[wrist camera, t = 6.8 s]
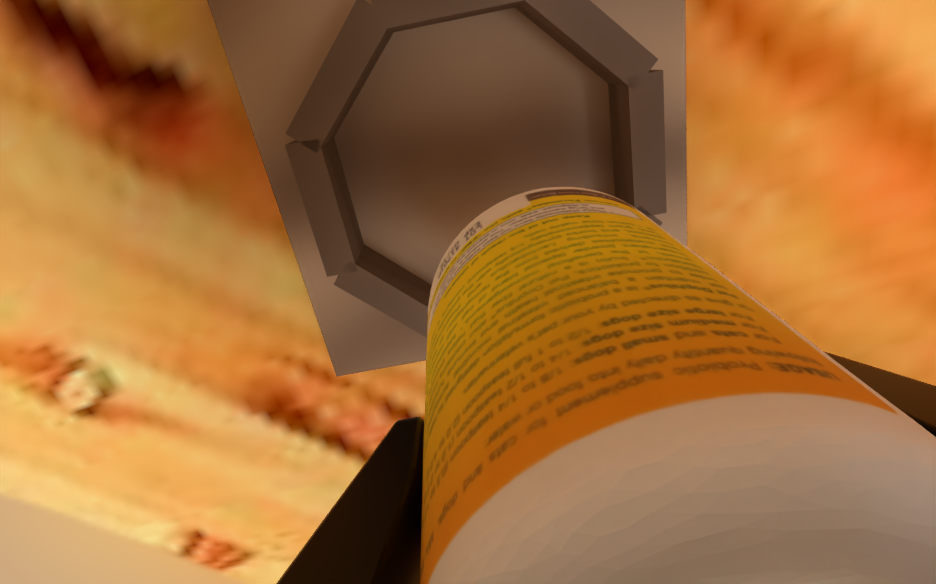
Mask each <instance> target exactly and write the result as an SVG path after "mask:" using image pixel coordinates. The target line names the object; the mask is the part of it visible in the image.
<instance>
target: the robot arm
mask: <svg viewBox="0 0 936 584" xmlns="http://www.w3.org/2000/svg"><path fill="white" fill-rule="evenodd" d="M823 352H824V351H823ZM825 353H826V354H827V355H829V356H830V357H831V358H832V359H834V360H835V361H836V362H838V363H839V364H840V365H842V366H843V367H844V368H846V369H847V370H848V371H849V372H851V373H852V374H853V375H855V376H856V377H857V378H859V379H860V380H861V381H863V382H864V383H865V384H866V385H868V386H869V387H870V388H872V389H873V390H874V391H876V392H877V393H878V394H880V395H881V396H882V397H884V398H885V399H886V400H888V401H889V402H890V403H892V404H893V405H894V406H896V407H897V408H898V409H900V410H901V411H902V412H904V413H905V414H906V415H908V416H909V417H910V418H912V419H913V420H914V421H916V422H917V423H918V424H920V425H921V426H922V427H923V428H925V429H926V430H927V431H929V432H930V433H931V434H932V435H934V436H935V437H936V386H934V385H931V384H927V383H924V382H921V381H918V380H914V379H911V378H908V377H905V376H901V375H898V374H895V373H892V372H888V371H885V370H882V369H879V368H875V367H872V366H869V365H866V364H863V363H859V362H856V361H853V360H850V359H846V358H843V357H840V356H837V355H833V354H830V353H827V352H825ZM423 446H424V421H423V419H422V418H420V417H414V418H409V419H403V420H399V421H397V422H396V423H395V424H394V425H393V426H392V428H391V429H390V431H389V432H388V433H387V435H386V436H385V437H384V439H383V440H382V441H381V443H380V444H379V445H378V447H377V448H376V450H375V451H374V452H373V454H372V455H371V456H370V458H369V459H368V460H367V462H366V463H365V464H364V466H363V467H362V468H361V470H360V471H359V473H358V474H357V475H356V477H355V478H354V479H353V481H352V482H351V483H350V485H349V486H348V487H347V489H346V490H345V492H344V493H343V494H342V496H341V497H340V498H339V500H338V501H337V502H336V504H335V505H334V506H333V508H332V509H331V510H330V512H329V513H328V515H327V516H326V517H325V519H324V520H323V521H322V523H321V524H320V525H319V527H318V528H317V529H316V531H315V532H314V534H313V535H312V536H311V538H310V539H309V540H308V542H307V543H306V544H305V546H304V547H303V548H302V550H301V551H300V552H299V554H298V555H297V557H296V558H295V559H294V561H293V562H292V563H291V565H290V566H289V567H288V569H287V570H286V571H285V573H284V574H283V576H282V577H281V578H280V580H279V581H278V582H277V584H420V562H421V523H422V483H423Z"/></svg>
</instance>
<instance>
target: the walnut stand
mask: <svg viewBox="0 0 936 584" xmlns="http://www.w3.org/2000/svg"><path fill="white" fill-rule="evenodd" d="M207 1H208V4H209V6H210V9H211V12H212V15H213V18H214V21H215V24H216V27H217V30H218V33H219V35H220V38H221V41H222V44H223V47H224V50H225V53H226V56H227V59H228V62H229V65H230V67H231V70H232V73H233V76H234V79H235V82H236V85H237V88H238V91H239V94H240V97H241V99H242V102H243V105H244V108H245V111H246V114H247V117H248V120H249V123H250V126H251V128H252V131H253V134H254V137H255V140H256V143H257V146H258V149H259V152H260V155H261V158H262V160H263V163H264V166H265V169H266V172H267V175H268V178H269V181H270V184H271V187H272V190H273V192H274V195H275V198H276V201H277V204H278V207H279V210H280V213H281V216H282V219H283V221H284V224H285V227H286V230H287V233H288V236H289V239H290V242H291V245H292V248H293V251H294V253H295V256H296V259H297V262H298V265H299V268H300V271H301V274H302V277H303V280H304V283H305V285H306V288H307V291H308V294H309V297H310V300H311V303H312V306H313V309H314V312H315V314H316V317H317V320H318V323H319V326H320V329H321V332H322V335H323V338H324V341H325V344H326V346H327V349H328V352H329V355H330V358H331V361H332V364H333V367H334V370H335V373H336V376H342V375H347V374H353V373H358V372H364V371H369V370H375V369H380V368H386V367H391V366H397V365H402V364H407V363H413V362H418V361H424V360H426V355H427V315H428V304H429V297H430V291H431V287H432V283H433V279H434V276H435V273H436V271H437V268H438V266H439V264H440V262H441V260H442V258H443V256H444V254H445V253H446V251H447V249H448V248H449V246H450V245H451V243H452V242H453V241H454V239H455V238H456V237H457V236H458V235H459V233H460V232H461V231H462V230H463V229H464V228H465V227H466V226H467V225H468V224H469V223H470V222H471V221H473V220H474V219H475V218H476V217H478V216H479V215H480V214H481V213H483V212H484V211H486V210H487V209H489V208H490V207H492V206H494V205H496V204H497V203H499V202H501V201H503V200H506V199H508V198H510V197H512V196H515V195H518V194H521V193H524V192H527V191H532V190H536V189H540V188H549V187H577V188H585V189H591V190H595V191H599V192H603V193H606V194H608V195H611V196H614V197H616V198H618V199H620V200H622V201H624V202H626V203H628V204H630V205H631V206H633V207H634V208H636V209H637V210H639V211H640V212H642V213H643V214H644V215H646V216H647V217H649V218H650V219H651V220H653V221H654V222H655V223H656V224H658V225H659V226H661V227H662V228H663V229H665V230H666V231H667V232H669V233H670V234H671V235H672V236H674V237H675V238H676V239H678V240H679V241H680V242H682V243H683V244H684V245H686V246H687V170H686V36H685V0H207Z"/></svg>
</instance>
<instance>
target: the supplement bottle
mask: <svg viewBox="0 0 936 584" xmlns="http://www.w3.org/2000/svg"><path fill="white" fill-rule="evenodd" d="M420 584H936V437H935V436H934V435H932V434H931V433H930V432H929V431H927V430H926V429H925V428H923V427H922V426H921V425H920V424H918V423H917V422H916V421H914V420H913V419H912V418H910V417H909V416H908V415H906V414H905V413H904V412H902V411H901V410H900V409H898V408H897V407H896V406H894V405H893V404H892V403H890V402H889V401H888V400H886V399H885V398H884V397H882V396H881V395H880V394H878V393H877V392H876V391H874V390H873V389H872V388H870V387H869V386H868V385H866V384H865V383H864V382H863V381H861V380H860V379H859V378H857V377H856V376H855V375H853V374H852V373H851V372H849V371H848V370H847V369H846V368H844V367H843V366H842V365H840V364H839V363H838V362H836V361H835V360H834V359H832V358H831V357H830V356H829V355H827V354H826V353H825V352H823V351H822V350H821V349H819V348H818V347H817V346H816V345H814V344H813V343H812V342H810V341H809V340H808V339H806V338H805V337H804V336H803V335H801V334H800V333H799V332H797V331H796V330H795V329H794V328H792V327H791V326H790V325H789V324H787V323H786V322H785V321H783V320H782V319H781V318H780V317H778V316H777V315H776V314H774V313H773V312H772V311H770V310H769V309H768V308H766V307H765V306H764V305H763V304H761V303H760V302H759V301H757V300H756V299H755V298H753V297H752V296H751V295H749V294H748V293H747V292H746V291H744V290H743V289H742V288H740V287H739V286H738V285H737V284H735V283H734V282H733V281H731V280H730V279H729V278H728V277H726V276H725V275H724V274H722V273H721V272H720V271H719V270H717V269H716V268H715V267H713V266H712V265H711V264H709V263H708V262H707V261H705V260H704V259H703V258H702V257H700V256H699V255H698V254H696V253H695V252H694V251H692V250H691V249H690V248H688V247H687V246H686V245H684V244H683V243H682V242H680V241H679V240H678V239H676V238H675V237H674V236H672V235H671V234H670V233H669V232H667V231H666V230H665V229H663V228H662V227H661V226H659V225H658V224H656V223H655V222H654V221H653V220H651V219H650V218H649V217H647V216H646V215H644V214H643V213H642V212H640V211H639V210H637V209H636V208H634V207H633V206H631V205H630V204H628V203H626V202H624V201H622V200H620V199H618V198H616V197H614V196H611V195H608V194H606V193H603V192H599V191H595V190H591V189H585V188H577V187H549V188H540V189H536V190H532V191H527V192H524V193H521V194H518V195H515V196H512V197H510V198H508V199H506V200H503V201H501V202H499V203H497V204H496V205H494V206H492V207H490V208H489V209H487V210H486V211H484V212H483V213H481V214H480V215H479V216H478V217H476V218H475V219H474V220H473V221H471V222H470V223H469V224H468V225H467V226H466V227H465V228H464V229H463V230H462V231H461V232H460V233H459V235H458V236H457V237H456V238H455V239H454V241H453V242H452V243H451V245H450V246H449V248H448V249H447V251H446V253H445V254H444V256H443V258H442V260H441V262H440V264H439V266H438V268H437V271H436V273H435V276H434V279H433V283H432V287H431V291H430V297H429V304H428V315H427V355H426V401H425V422H424V446H423V483H422V523H421V562H420Z"/></svg>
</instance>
